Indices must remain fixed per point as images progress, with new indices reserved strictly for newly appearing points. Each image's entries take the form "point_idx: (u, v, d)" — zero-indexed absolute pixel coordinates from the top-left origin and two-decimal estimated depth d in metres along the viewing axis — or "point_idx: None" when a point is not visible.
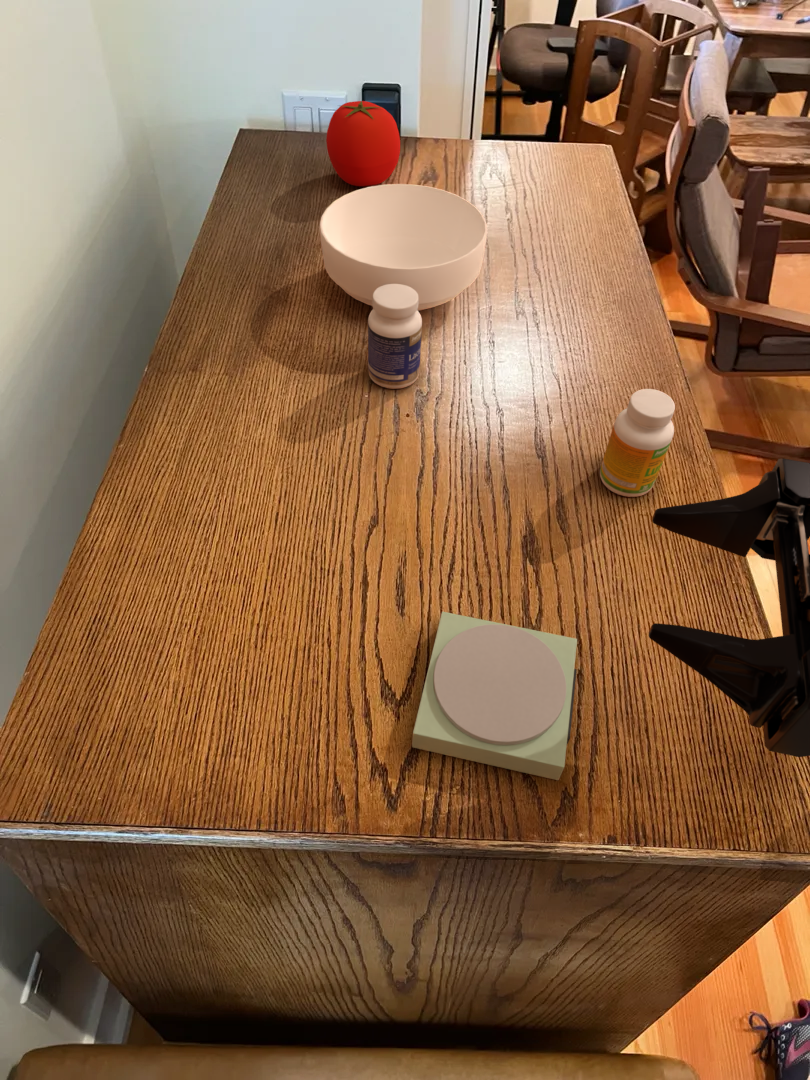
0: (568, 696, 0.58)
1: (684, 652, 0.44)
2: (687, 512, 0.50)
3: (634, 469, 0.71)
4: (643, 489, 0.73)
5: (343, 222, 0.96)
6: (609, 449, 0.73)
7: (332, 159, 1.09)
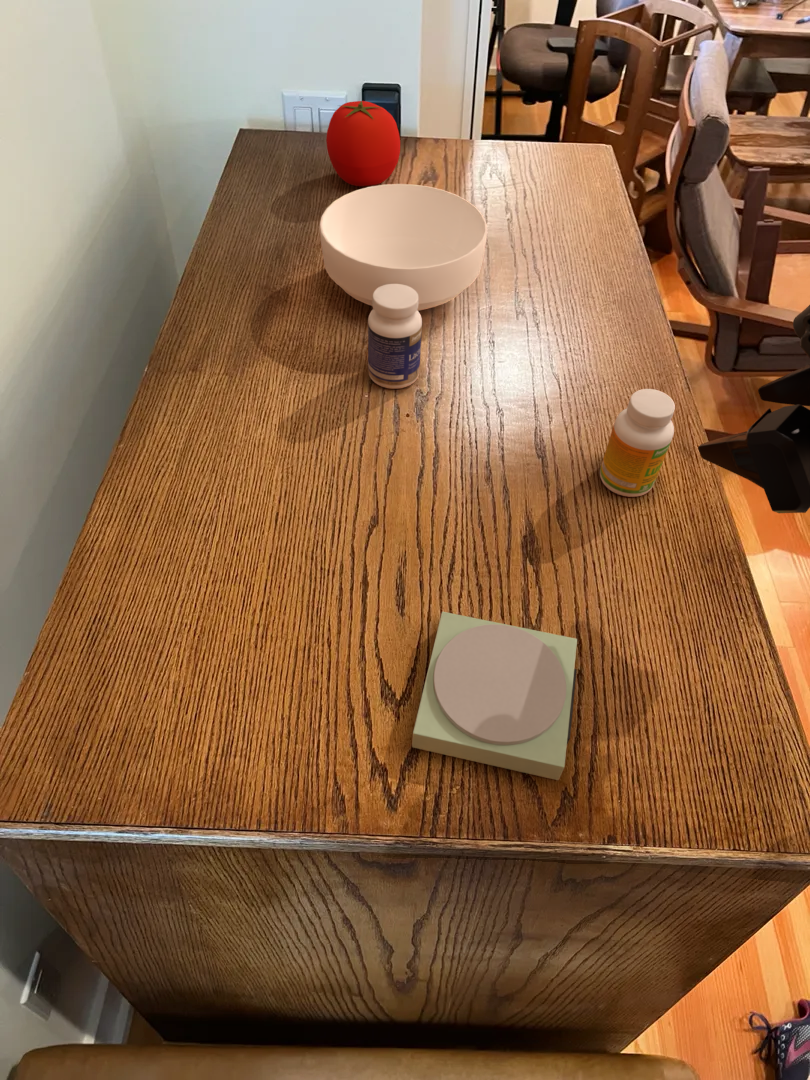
0: (568, 696, 0.58)
1: (721, 459, 0.56)
2: (778, 380, 0.61)
3: (634, 469, 0.71)
4: (643, 489, 0.73)
5: (343, 222, 0.96)
6: (609, 449, 0.73)
7: (332, 159, 1.09)
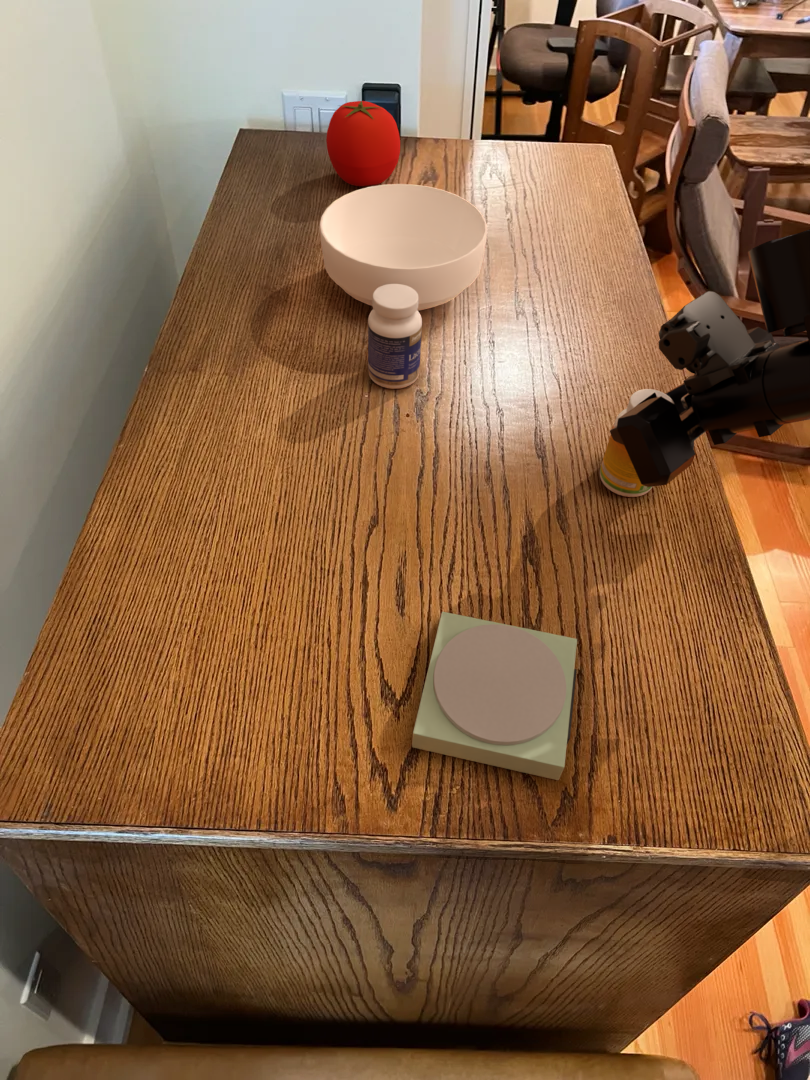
0: (568, 696, 0.58)
1: None
2: None
3: (634, 469, 0.71)
4: (643, 489, 0.73)
5: (343, 222, 0.96)
6: (608, 449, 0.73)
7: (332, 159, 1.09)
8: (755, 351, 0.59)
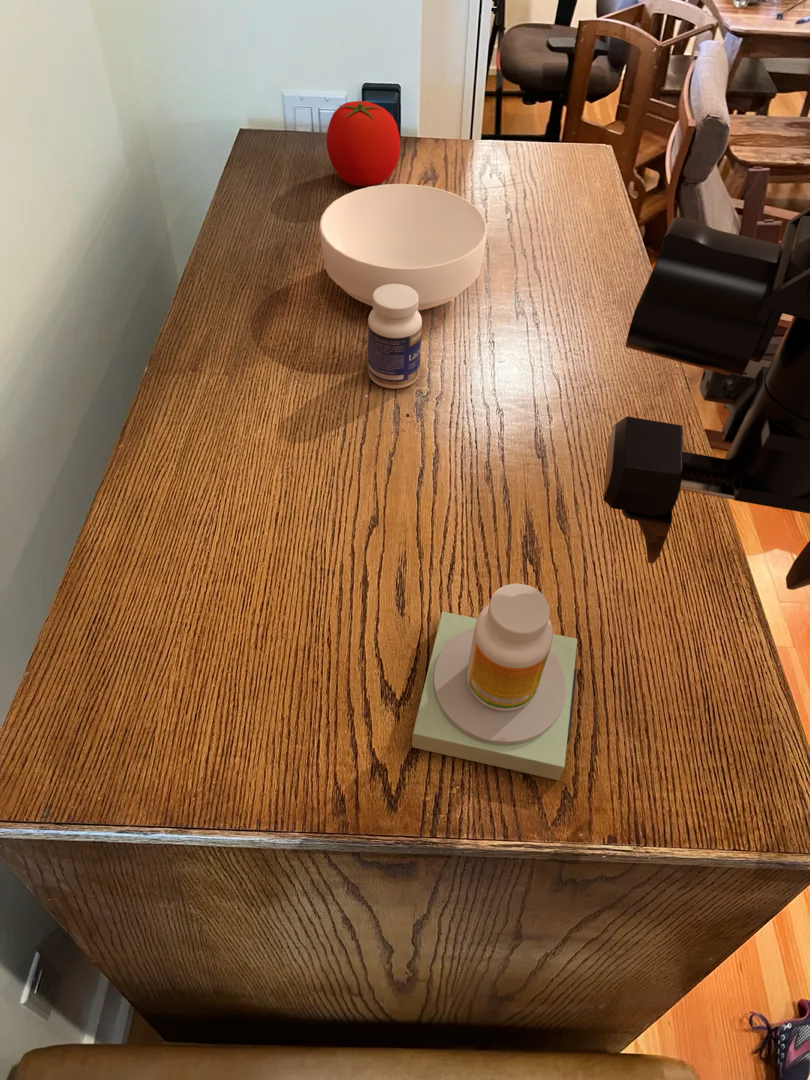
0: (568, 696, 0.58)
1: None
2: (798, 556, 0.51)
3: (525, 684, 0.53)
4: (535, 691, 0.56)
5: (343, 222, 0.96)
6: (481, 672, 0.54)
7: (332, 159, 1.09)
8: None
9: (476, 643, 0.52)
